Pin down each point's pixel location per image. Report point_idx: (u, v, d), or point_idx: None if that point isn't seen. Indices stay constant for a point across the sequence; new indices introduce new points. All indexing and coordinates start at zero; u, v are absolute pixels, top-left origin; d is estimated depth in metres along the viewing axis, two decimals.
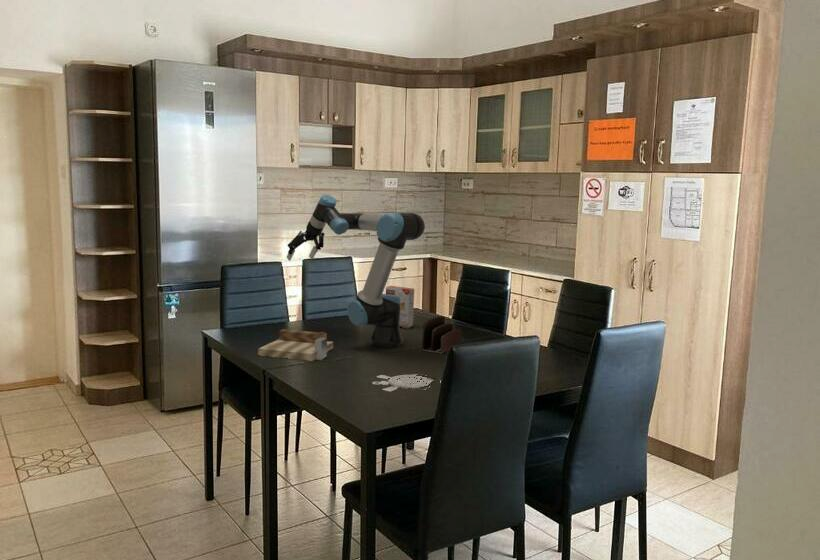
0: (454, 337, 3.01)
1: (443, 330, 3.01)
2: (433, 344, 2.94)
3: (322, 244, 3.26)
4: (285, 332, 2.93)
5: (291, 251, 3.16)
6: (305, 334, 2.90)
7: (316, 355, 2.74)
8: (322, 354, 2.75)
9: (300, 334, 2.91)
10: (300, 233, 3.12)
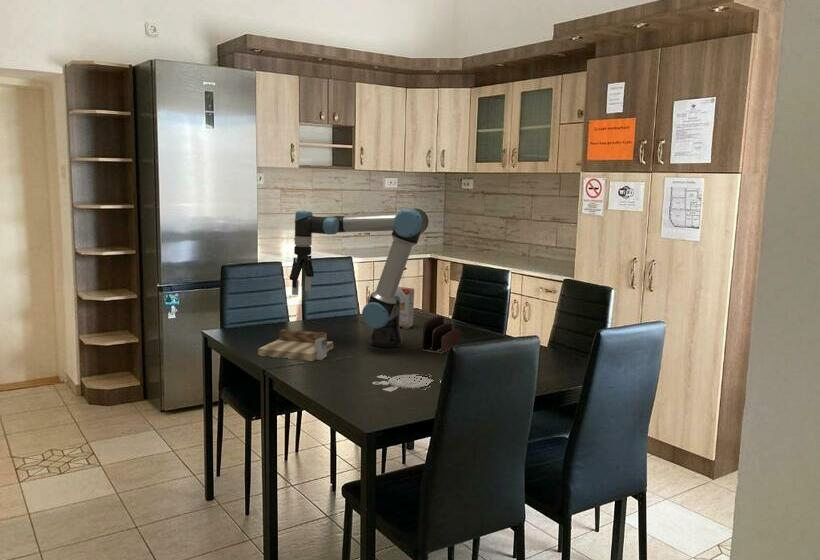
0: (453, 337, 3.01)
1: (443, 330, 3.01)
2: (433, 344, 2.94)
3: (312, 270, 3.07)
4: (285, 332, 2.93)
5: (295, 283, 2.92)
6: (305, 334, 2.90)
7: (316, 355, 2.74)
8: (322, 354, 2.75)
9: (300, 334, 2.91)
10: (295, 259, 2.92)
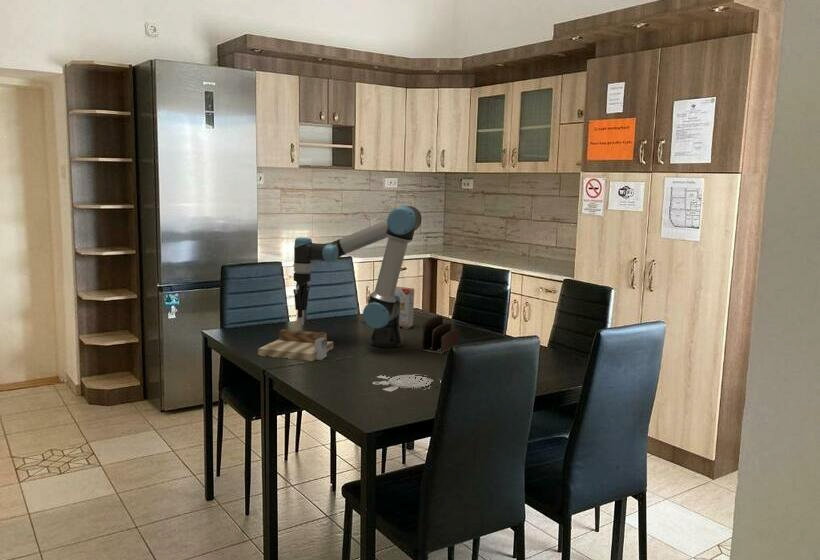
0: (453, 337, 3.01)
1: (442, 330, 3.01)
2: (433, 344, 2.94)
3: (306, 302, 3.03)
4: (285, 332, 2.93)
5: (301, 313, 2.99)
6: (305, 334, 2.90)
7: (316, 355, 2.74)
8: (322, 354, 2.75)
9: (300, 334, 2.91)
10: (295, 291, 2.94)
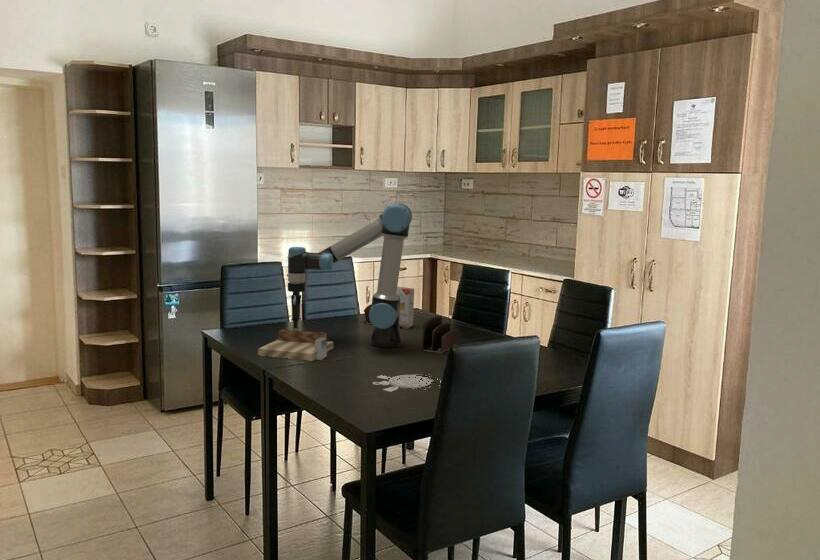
0: (452, 337, 3.02)
1: (442, 330, 3.01)
2: (433, 344, 2.94)
3: (299, 312, 2.99)
4: (285, 332, 2.92)
5: (297, 323, 2.94)
6: (305, 334, 2.90)
7: (316, 355, 2.74)
8: (322, 354, 2.75)
9: (300, 334, 2.91)
10: (293, 302, 2.88)
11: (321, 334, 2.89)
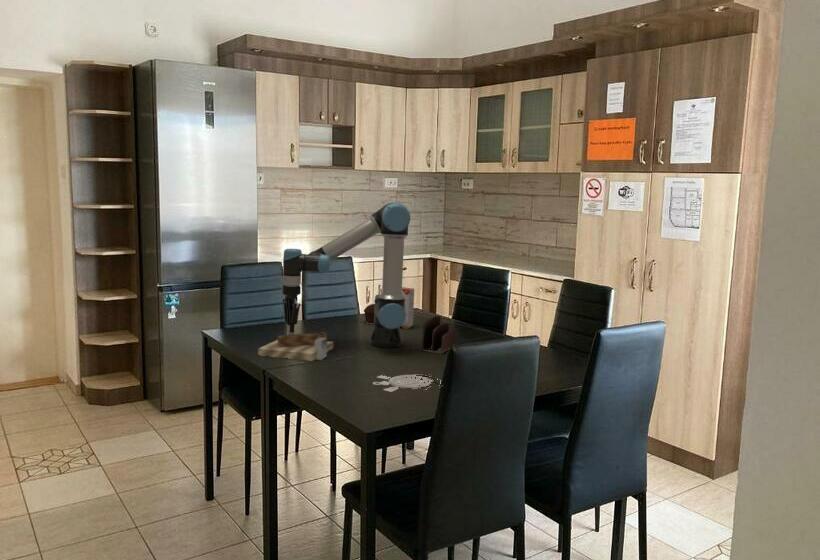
0: (452, 337, 3.02)
1: (441, 330, 3.02)
2: (433, 344, 2.94)
3: None
4: (287, 338, 2.81)
5: (293, 327, 2.86)
6: (308, 336, 2.86)
7: (316, 355, 2.74)
8: (322, 354, 2.75)
9: (303, 337, 2.85)
10: (297, 306, 2.80)
11: (323, 334, 2.90)
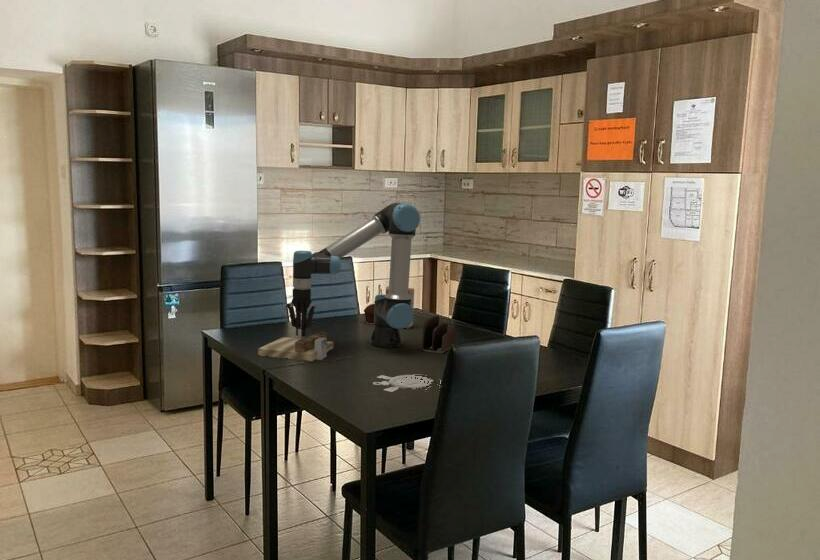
0: (451, 337, 3.02)
1: (441, 330, 3.02)
2: (433, 344, 2.94)
3: None
4: (307, 342, 2.75)
5: None
6: None
7: (316, 355, 2.74)
8: (322, 354, 2.75)
9: (315, 339, 2.82)
10: (314, 308, 2.76)
11: (325, 333, 2.91)
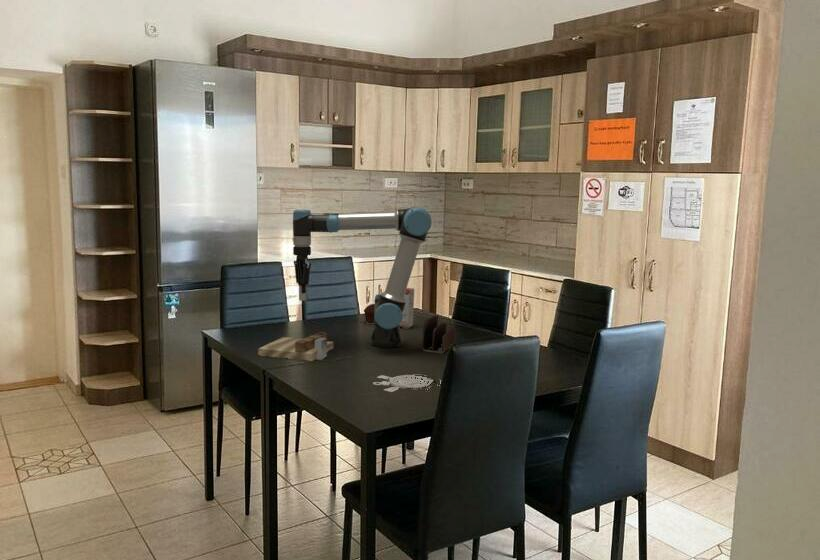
0: (450, 336, 3.03)
1: (440, 330, 3.02)
2: (434, 344, 2.94)
3: None
4: (307, 342, 2.75)
5: None
6: None
7: (316, 355, 2.74)
8: (322, 354, 2.75)
9: (315, 339, 2.82)
10: (307, 265, 2.81)
11: (325, 333, 2.91)
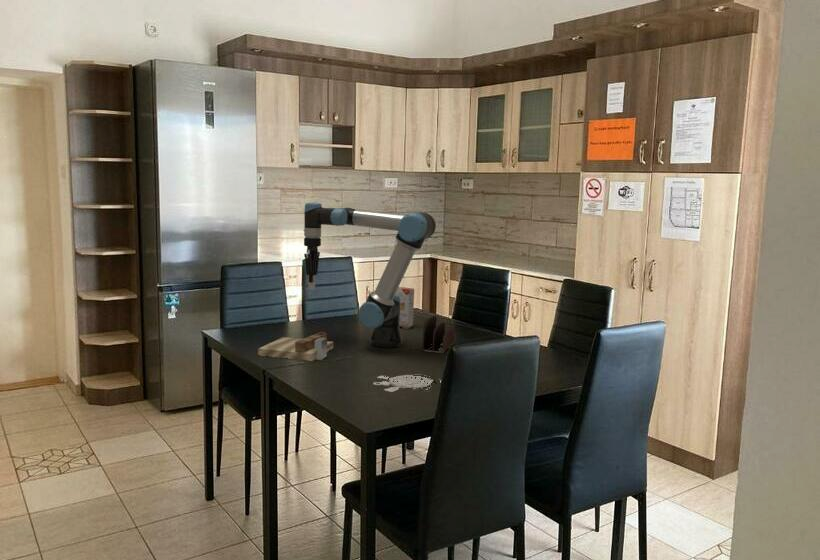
0: (450, 336, 3.03)
1: (440, 329, 3.02)
2: (434, 344, 2.94)
3: (317, 267, 3.04)
4: (307, 342, 2.75)
5: (312, 278, 3.00)
6: None
7: (316, 355, 2.74)
8: (322, 354, 2.75)
9: (315, 339, 2.82)
10: (306, 256, 2.95)
11: (325, 333, 2.91)
